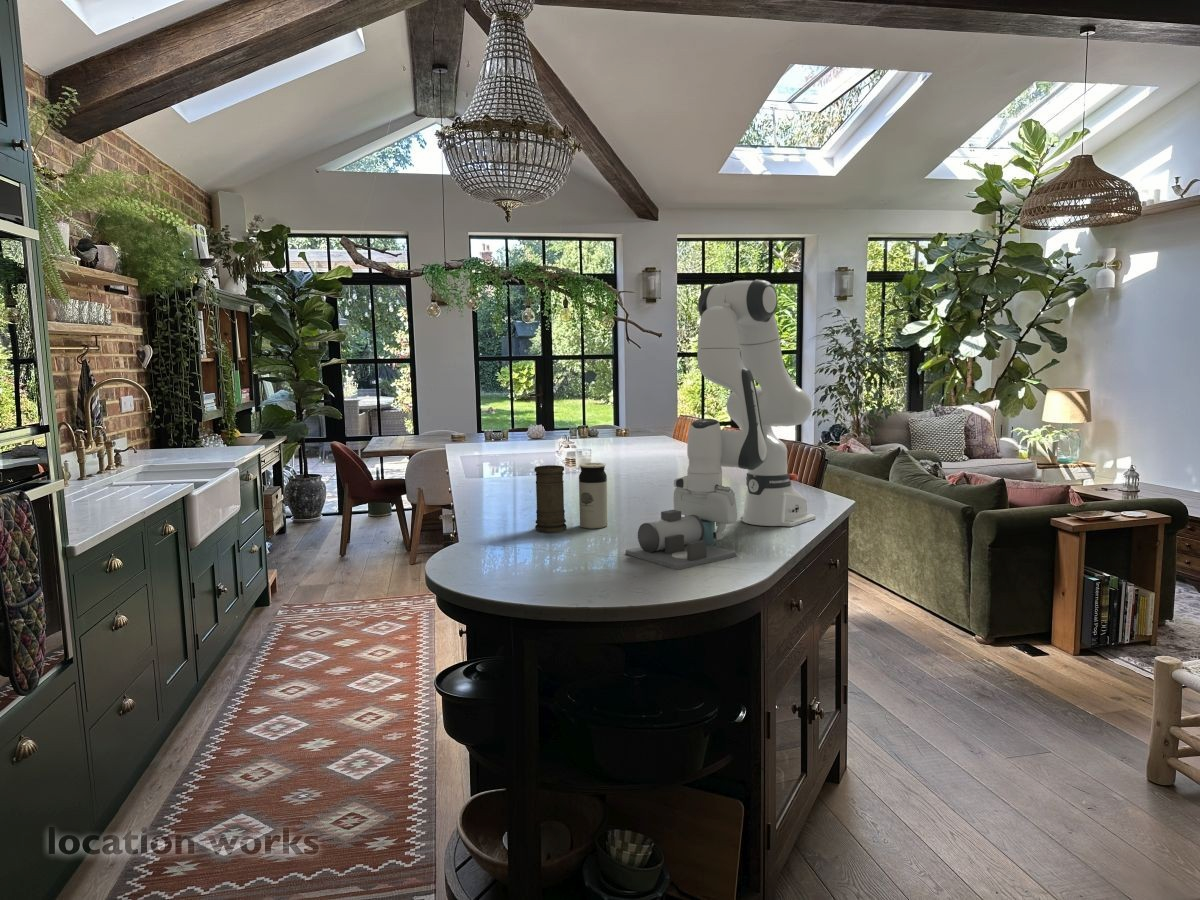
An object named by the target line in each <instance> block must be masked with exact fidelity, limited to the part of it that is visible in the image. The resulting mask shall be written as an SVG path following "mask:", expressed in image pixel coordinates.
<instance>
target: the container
mask: <svg viewBox="0 0 1200 900" xmlns="http://www.w3.org/2000/svg"><path fill="white" fill-rule="evenodd" d="M564 471H565V467H564V466H563V465H557V464H556V465H554V464H553V465H552V464H551V465H549V464H548V465H538V466H535V467H534V473H535V478H536V479H535V491H536V493H535V494H536V495H535V496H536V511H535V513H536V520H535V524H536V525H535V527H534V529H535V531H536V532H539V533H542V532H543V533H545V534H554V533H556V534H557V533H563V532H565V531H567V527H568V526H567V524H566V523H567V520H566V518H565V503H564V502H565V498H564V495H565V493H564V491H565V490H564Z"/></svg>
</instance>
